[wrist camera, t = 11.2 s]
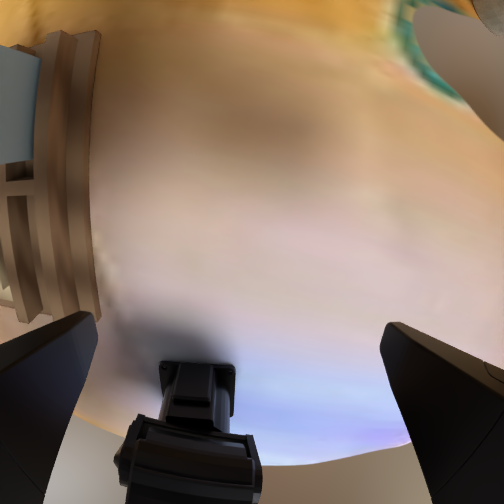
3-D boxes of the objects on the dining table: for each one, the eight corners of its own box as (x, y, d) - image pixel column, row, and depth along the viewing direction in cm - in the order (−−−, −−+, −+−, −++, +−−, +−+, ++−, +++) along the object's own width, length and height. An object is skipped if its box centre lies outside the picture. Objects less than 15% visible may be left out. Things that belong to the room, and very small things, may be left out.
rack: (101, 316, 23) (85, 339, 19) (-11, 297, 22) (-31, 313, 18) (101, 34, 16) (80, 19, 12) (-22, 72, 15) (-46, 68, 11)
